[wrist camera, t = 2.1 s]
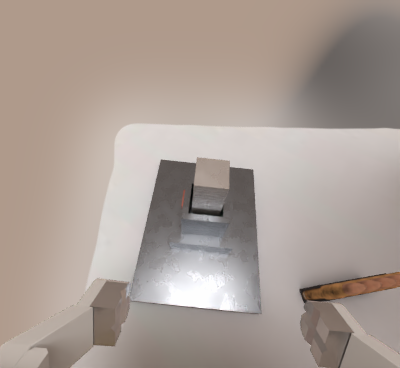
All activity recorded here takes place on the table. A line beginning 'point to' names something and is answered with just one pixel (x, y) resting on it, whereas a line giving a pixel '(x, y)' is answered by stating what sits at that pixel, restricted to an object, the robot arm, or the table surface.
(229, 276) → the metal stepped base
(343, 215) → the table surface
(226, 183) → the column
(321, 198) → the table surface
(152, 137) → the table surface
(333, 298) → the ammunition clip
